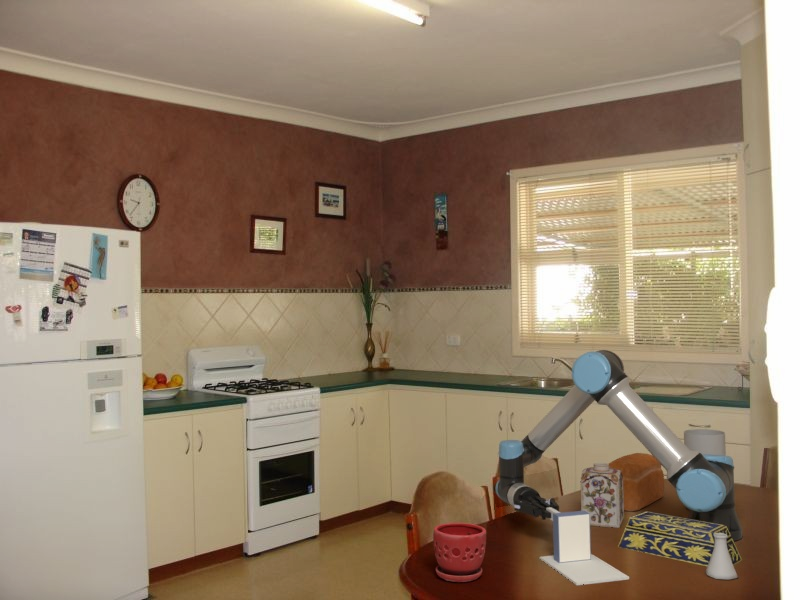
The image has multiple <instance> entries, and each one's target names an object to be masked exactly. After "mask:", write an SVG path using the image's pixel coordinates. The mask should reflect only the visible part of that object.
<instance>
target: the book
mask: <svg viewBox="0 0 800 600" xmlns="http://www.w3.org/2000/svg"><path fill="white" fill-rule="evenodd" d="M552 526H553V527H552V529H553V531H552V536H553V537H552V538H553V555H554V560H555V561H557V562H558V563H565V562H575V561H584V560H591V554H592V552H591V551H592V550H591V526H590V513H588V512H586V511H581V510H578V511H577V510H576V511H575V510H574V511H565V512H561V513H553V521H552Z"/></svg>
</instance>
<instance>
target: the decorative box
mask: <svg viewBox="0 0 800 600" xmlns="http://www.w3.org/2000/svg"><path fill="white" fill-rule="evenodd" d="M714 533H724V534H727V536H728V537H727V539H726V543H727V549H728V553H729V555H730V558H731V561H732V564H733V566H735V565H736V564H738V563H740V562H741V561H743V559H742V557H741V555H740V553H739V550H738V548H737V546H736V544H735V541H733V539H732V537H731V535H730V532H729V530H728V528H727V526H726V525H722V524H716V523H711V522H705V521H699V520H694V519H688V517H681V516H676V515H670V514H665V513H660V512H654V511H653V512H652V511H647V510H645V511H642V512H640V513H636V514H634V515H632V516H629V518H628V521H627V524H626V526H625V528H624V531H623V533H622V536H621V537H620V541H619V543H618V545H617V548H621V547H622V548H621V549H625V548H626V550H630V549H631V550H630V551H634V550H635V552H639V551H640V552H639V553H643V552H645V553H644V554H648V555H653V556H657V557H662V558H668V559H672V560H676V561H681V562H685V563H690V564H695V565H700V566H704V567H707V566H708V564H709V561H710V558H711V555H712V552H713V549H714V544H715V537H714V535H713V534H714Z"/></svg>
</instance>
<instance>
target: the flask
mask: <svg viewBox="0 0 800 600" xmlns="http://www.w3.org/2000/svg"><path fill="white" fill-rule="evenodd" d="M713 535H714V537H715V544H714V549H713V552H712V555H711V558H710V561H709V564H708V566H706V569H705V573H706V575H707V576H708V577H711V578H712V579H716V580H728V581H729V580H733V579H737V578H739V577H738V574H737V572H736V569H735V565H733V564H732V561H731V558H730V555H729V553H728V549H727V543H726V539H727V537H728V536H727V534H724V533H714V534H713Z"/></svg>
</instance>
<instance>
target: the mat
mask: <svg viewBox="0 0 800 600" xmlns="http://www.w3.org/2000/svg"><path fill="white" fill-rule="evenodd" d="M540 559H541V560H540ZM539 560H540V561H541V562H543V561H544V562H545V563H544V562H543V563H544V564H546V565H547V564H548V565H547V566H549V567H550V568H551V567H552V568H551V569H553V570H554V569H555V570H554V571H556V572H557V571H558V572H559V573H558V572H557V573H558V574H560V575H561V574H562V575H561V576H563V578H565V577H566V578H565V579H567V580H568V579H569V580H568V581H569V582H571V583H572V582H573V585H575V586H584V585H591V584H592V585H593V584H602V583H609V582H619V581H626V580H630V576H628V575H627V574H625V573H624V572H622V571H620V570H619V569H617V568H615V567H614V566H612V565H610V564H609V563H607V562H606V561H604V560H602V559H600V558H599V557H598V556H597V555H596V556H595V555H594V554H593V553H591V560H584V561H575V562H565V563H558V562H557V561H555V560H554V554H552V555H544V556H539ZM583 584H584V585H583Z"/></svg>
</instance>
